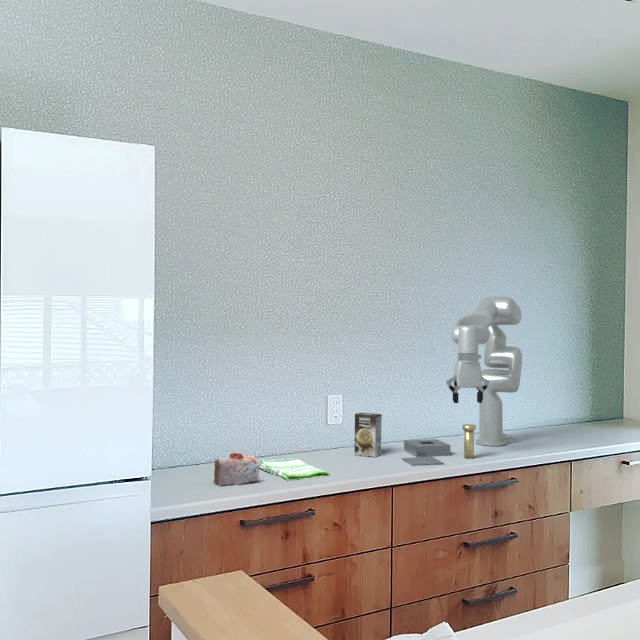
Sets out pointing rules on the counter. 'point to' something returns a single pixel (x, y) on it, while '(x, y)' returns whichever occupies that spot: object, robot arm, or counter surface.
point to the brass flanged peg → (469, 440)
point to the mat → (423, 461)
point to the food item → (235, 470)
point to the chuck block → (427, 447)
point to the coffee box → (368, 434)
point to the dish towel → (291, 469)
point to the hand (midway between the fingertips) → (467, 402)
